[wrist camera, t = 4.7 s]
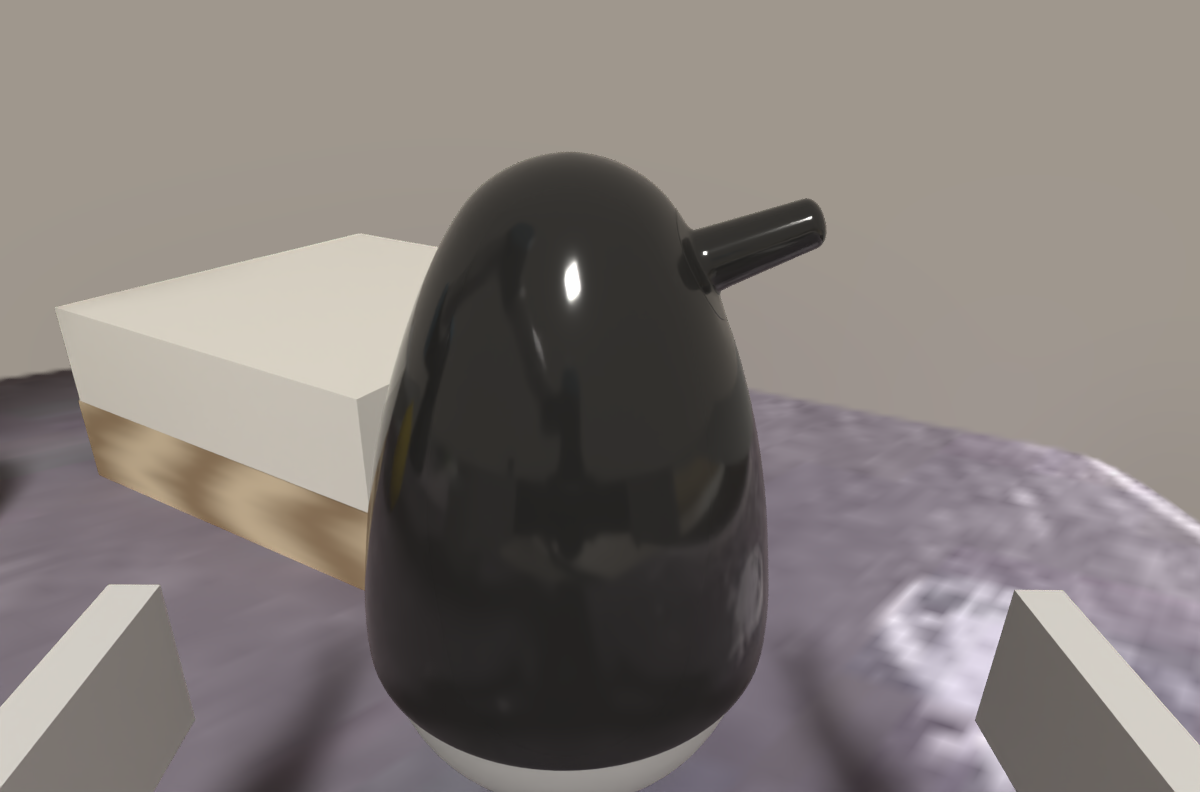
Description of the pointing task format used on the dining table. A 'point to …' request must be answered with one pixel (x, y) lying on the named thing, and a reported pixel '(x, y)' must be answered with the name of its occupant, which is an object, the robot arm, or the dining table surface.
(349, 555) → the tower base
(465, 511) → the pump dispenser
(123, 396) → the tower top
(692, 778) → the dining table surface
